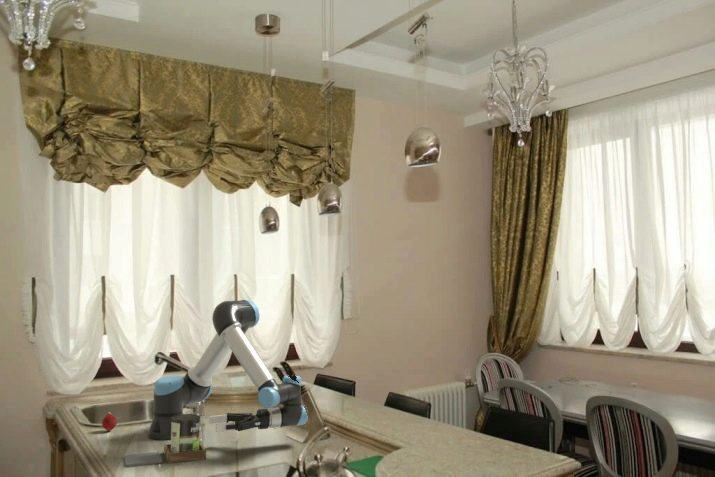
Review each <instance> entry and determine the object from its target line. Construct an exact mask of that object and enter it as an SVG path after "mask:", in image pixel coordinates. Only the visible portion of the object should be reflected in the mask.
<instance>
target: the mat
mask: <svg viewBox="0 0 715 477" xmlns="http://www.w3.org/2000/svg"><path fill="white" fill-rule="evenodd" d="M123 457H124V458H123V459H124V463H125V467H126V468H129V467H128V466H131V467H139V466H138V465H140V466H147V465H157V463H159V464H162V463H163V459H162V456H161V454H160V451H152V452H142V453H140V452H139V453H133V454H132V453H131V454H124V455H123Z"/></svg>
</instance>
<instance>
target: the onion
mask: <svg viewBox="0 0 715 477" xmlns="http://www.w3.org/2000/svg"><path fill="white" fill-rule="evenodd" d="M117 424H118V421H117V418H116V416H115V415H114V414H112V413H111V412H110V411H109V412H107V415H105V417H103V419H102V422H101V425H102V428H103V429H105V431H106V432H111V431H112V430H113V429H115V428H116V426H117Z"/></svg>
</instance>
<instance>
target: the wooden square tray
mask: <svg viewBox="0 0 715 477" xmlns="http://www.w3.org/2000/svg"><path fill="white" fill-rule="evenodd" d="M206 449H207V448H205V446H204V445H203V443H202V442H201V441H200V440H199V451H190V452H180V453H171V443H168V444H163V454H164V456H165V458H166V461H167V463H168V464H170V463H179V462H181V463H182V462H189V461H197V460H206V459H207V450H206Z"/></svg>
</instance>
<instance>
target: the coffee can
mask: <svg viewBox="0 0 715 477" xmlns="http://www.w3.org/2000/svg"><path fill="white" fill-rule="evenodd" d="M171 420H172V422H171V439H170V444H171V453H180V452H190V451H199V441H200V427H201V426H200V425H201V424H200V423H201V415H199V414H194V413H185V414H184V413H183V414H182V415H176V416H173V417H172V418H171Z"/></svg>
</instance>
